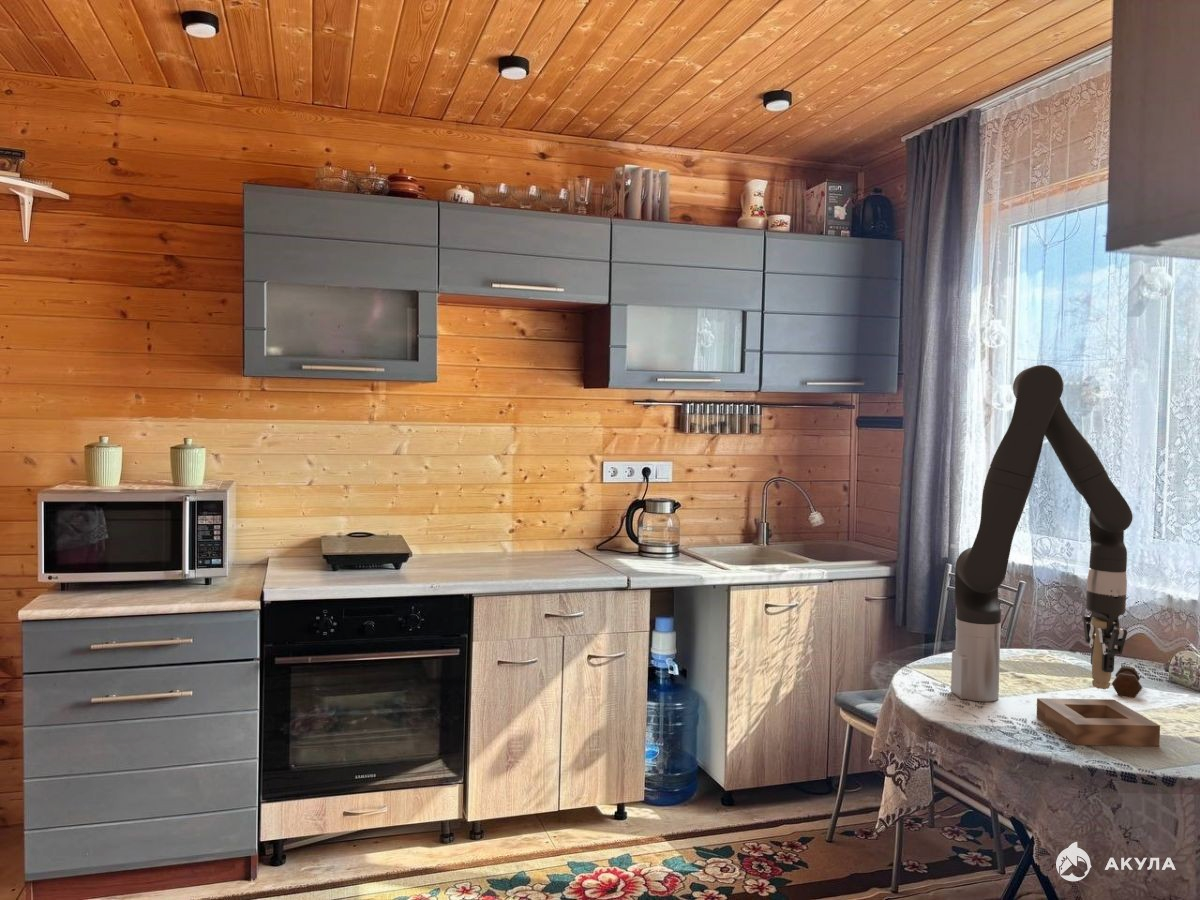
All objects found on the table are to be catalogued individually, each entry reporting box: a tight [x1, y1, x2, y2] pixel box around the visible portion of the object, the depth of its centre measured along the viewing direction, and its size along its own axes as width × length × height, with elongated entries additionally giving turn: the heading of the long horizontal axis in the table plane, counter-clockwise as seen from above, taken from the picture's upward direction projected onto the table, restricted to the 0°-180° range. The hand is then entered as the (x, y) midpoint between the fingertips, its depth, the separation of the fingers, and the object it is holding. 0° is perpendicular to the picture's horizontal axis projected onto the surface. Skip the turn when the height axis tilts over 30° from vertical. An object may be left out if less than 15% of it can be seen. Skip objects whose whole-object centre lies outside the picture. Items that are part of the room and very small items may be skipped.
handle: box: [1091, 617, 1113, 690], centre depth 198 cm, size 5×6×15 cm
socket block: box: [1036, 697, 1161, 747], centre depth 183 cm, size 16×16×4 cm
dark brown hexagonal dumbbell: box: [1111, 665, 1143, 699], centre depth 212 cm, size 6×5×15 cm
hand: (1101, 668), depth 198 cm, fingers closed on handle, 4 cm apart
